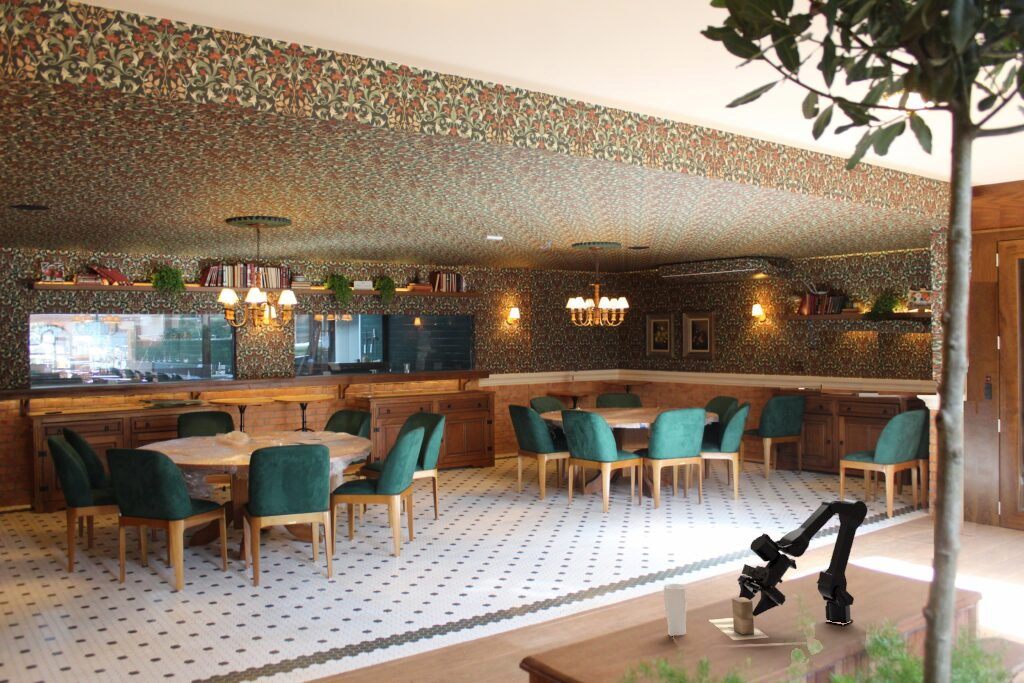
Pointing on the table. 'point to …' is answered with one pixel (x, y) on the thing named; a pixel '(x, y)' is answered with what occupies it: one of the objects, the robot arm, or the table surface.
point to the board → (728, 629)
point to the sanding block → (743, 616)
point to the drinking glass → (675, 608)
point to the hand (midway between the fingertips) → (745, 611)
